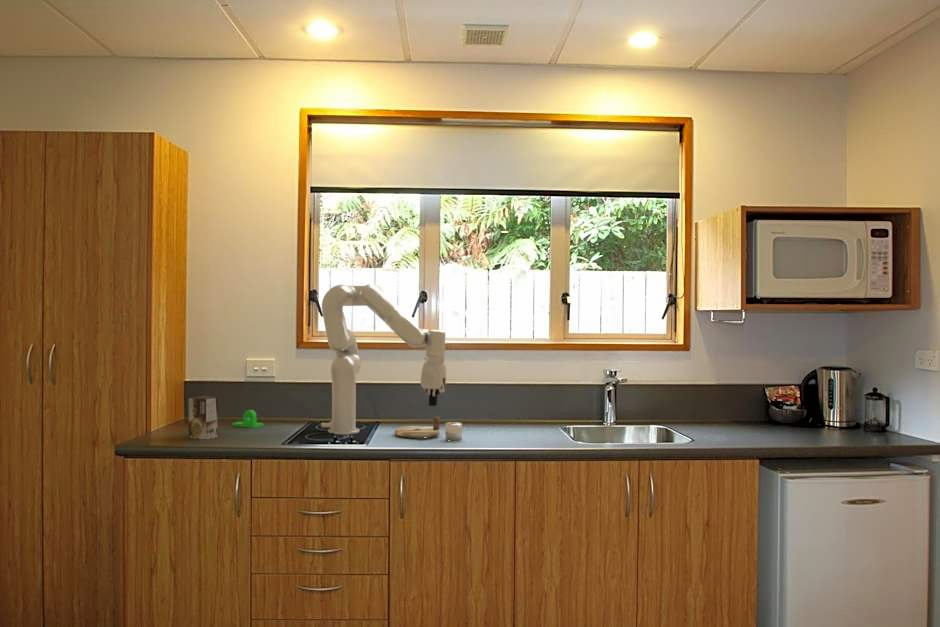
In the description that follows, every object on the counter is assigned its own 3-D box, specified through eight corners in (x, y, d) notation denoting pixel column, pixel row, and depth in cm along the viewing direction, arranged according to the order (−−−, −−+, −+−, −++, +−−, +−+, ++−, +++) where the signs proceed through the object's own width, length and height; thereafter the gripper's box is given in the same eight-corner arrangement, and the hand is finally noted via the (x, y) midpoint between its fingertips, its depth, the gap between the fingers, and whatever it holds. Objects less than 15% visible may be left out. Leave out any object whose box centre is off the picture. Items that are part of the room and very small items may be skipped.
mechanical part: (263, 428, 303) (263, 409, 303) (253, 430, 297) (253, 410, 297) (243, 425, 308) (243, 407, 308) (232, 427, 303) (232, 408, 303)
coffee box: (218, 438, 275) (218, 397, 275) (205, 441, 269) (206, 398, 269) (200, 437, 279) (201, 395, 279) (187, 439, 273) (188, 397, 273)
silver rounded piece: (445, 441, 273) (445, 424, 273) (445, 438, 280) (445, 421, 280) (462, 441, 273) (462, 424, 273) (461, 438, 280) (461, 421, 280)
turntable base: (401, 438, 278) (401, 436, 278) (402, 433, 290) (402, 431, 290) (432, 438, 279) (432, 436, 279) (432, 433, 291) (432, 431, 291)
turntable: (387, 431, 288) (387, 415, 288) (427, 428, 297) (427, 412, 297) (406, 438, 272) (406, 421, 272) (448, 434, 281) (448, 418, 281)
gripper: (414, 359, 289) (412, 404, 289) (443, 361, 281) (441, 408, 281) (426, 358, 295) (424, 402, 295) (455, 361, 287) (453, 407, 287)
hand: (432, 405), depth 288 cm, fingers closed
